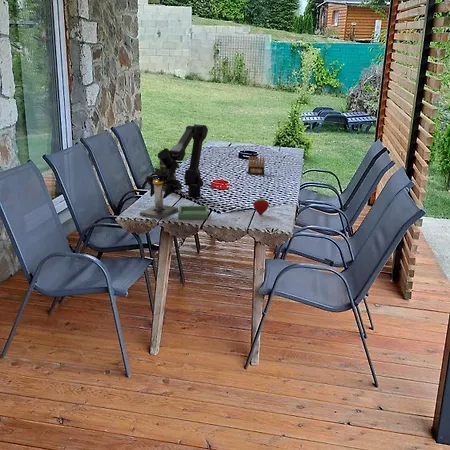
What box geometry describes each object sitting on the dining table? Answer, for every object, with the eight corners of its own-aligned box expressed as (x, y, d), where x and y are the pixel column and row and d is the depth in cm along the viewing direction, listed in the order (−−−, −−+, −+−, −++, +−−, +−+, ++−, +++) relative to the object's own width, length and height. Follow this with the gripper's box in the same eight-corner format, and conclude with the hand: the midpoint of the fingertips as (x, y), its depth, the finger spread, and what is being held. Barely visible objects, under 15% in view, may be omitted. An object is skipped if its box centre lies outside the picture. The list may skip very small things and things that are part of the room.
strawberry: (268, 217, 258) (269, 197, 255) (253, 217, 258) (254, 197, 255) (267, 213, 264) (268, 194, 261) (252, 213, 264) (253, 193, 260)
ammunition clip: (247, 174, 342) (248, 156, 339) (247, 173, 344) (248, 155, 340) (264, 175, 341) (264, 156, 337) (264, 174, 343) (265, 156, 339)
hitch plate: (158, 206, 272) (158, 204, 271) (178, 210, 267) (178, 207, 266) (139, 215, 259) (139, 212, 258) (160, 219, 253) (159, 216, 253)
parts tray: (179, 210, 266) (179, 205, 265) (207, 210, 267) (207, 206, 266) (178, 219, 253) (178, 214, 252) (207, 219, 254) (207, 214, 253)
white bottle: (166, 212, 263) (165, 181, 258) (158, 215, 259) (157, 182, 254) (159, 210, 266) (158, 179, 261) (151, 212, 262) (150, 181, 257)
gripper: (146, 159, 262) (134, 186, 256) (178, 163, 254) (166, 191, 248) (156, 172, 271) (144, 197, 265) (187, 176, 263) (175, 203, 257)
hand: (157, 197), depth 259 cm, fingers open, 7 cm apart
